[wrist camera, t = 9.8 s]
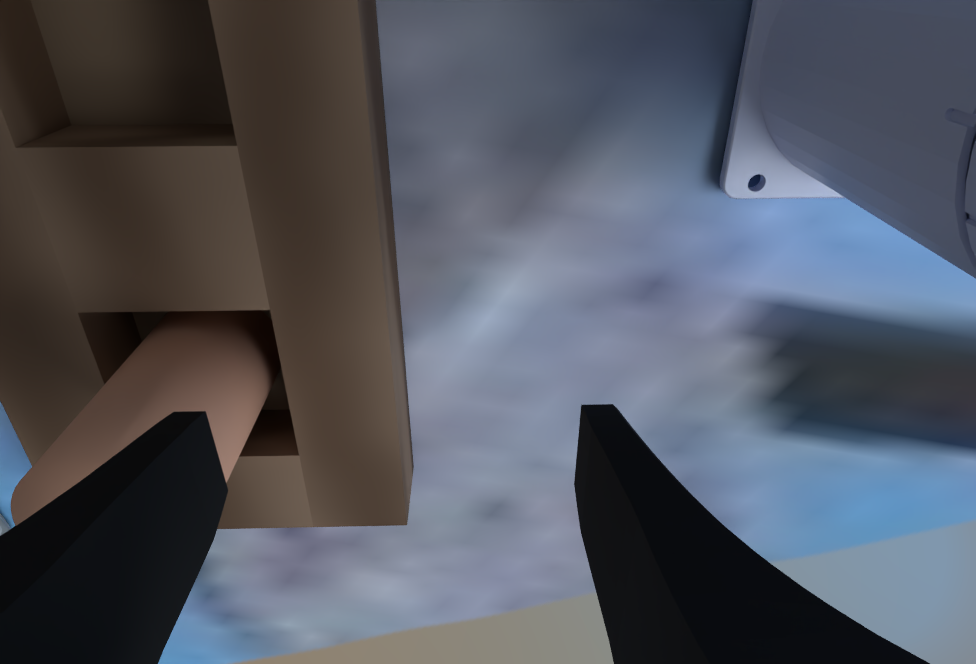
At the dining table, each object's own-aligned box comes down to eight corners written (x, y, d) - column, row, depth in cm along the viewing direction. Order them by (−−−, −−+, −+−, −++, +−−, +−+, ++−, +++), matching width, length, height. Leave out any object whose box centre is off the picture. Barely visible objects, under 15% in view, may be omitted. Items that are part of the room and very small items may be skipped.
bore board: (352, -290, 14) (324, -349, 11) (413, 466, 25) (407, 525, 22) (-206, -293, 14) (-366, -355, 11) (106, 472, 25) (64, 532, 22)
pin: (274, 292, 20) (174, 458, 13) (291, 393, 22) (211, 583, 15) (148, 291, 20) (-18, 460, 13) (177, 393, 22) (45, 585, 15)
